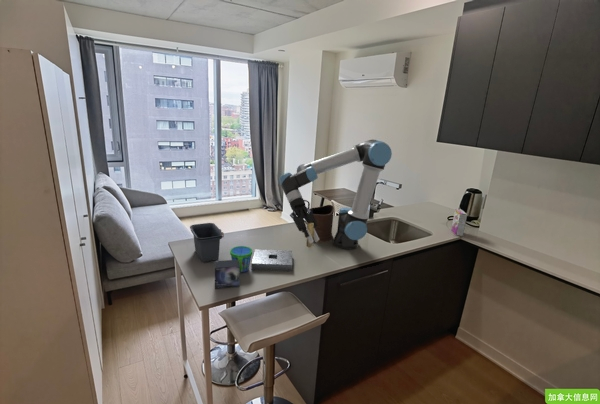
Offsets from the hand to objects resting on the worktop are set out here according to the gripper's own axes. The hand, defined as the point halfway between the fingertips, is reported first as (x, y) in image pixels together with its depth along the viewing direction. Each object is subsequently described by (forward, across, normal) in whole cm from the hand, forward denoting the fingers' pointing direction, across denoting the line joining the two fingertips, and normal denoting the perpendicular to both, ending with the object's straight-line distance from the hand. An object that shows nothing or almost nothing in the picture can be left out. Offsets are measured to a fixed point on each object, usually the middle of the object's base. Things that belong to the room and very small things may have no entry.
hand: (314, 241), depth 148 cm
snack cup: (-3, +30, -25) cm, 39 cm away
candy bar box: (+21, -124, -3) cm, 125 cm away
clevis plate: (-1, +13, -23) cm, 26 cm away
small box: (+4, +41, -18) cm, 45 cm away
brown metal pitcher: (-12, -30, -35) cm, 47 cm away
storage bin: (-19, +37, -41) cm, 59 cm away
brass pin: (0, 0, -5) cm, 5 cm away
